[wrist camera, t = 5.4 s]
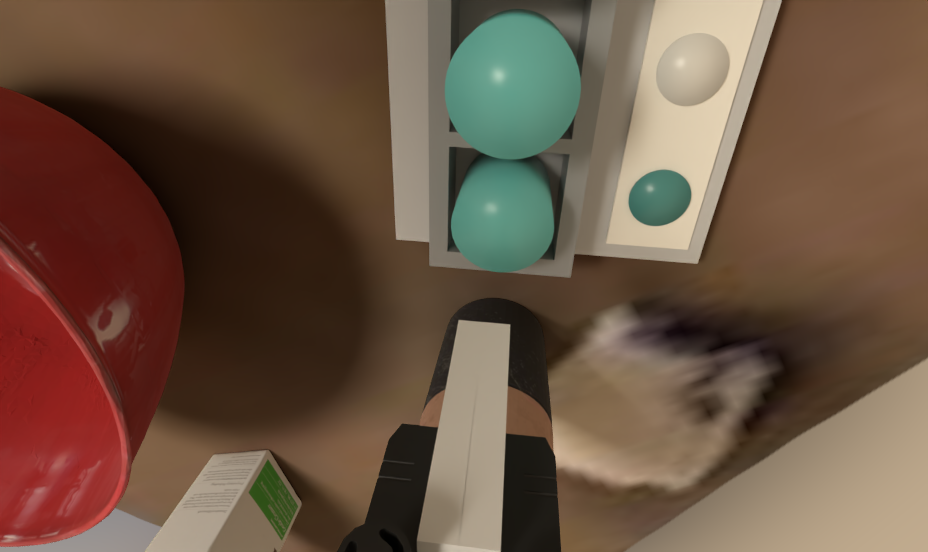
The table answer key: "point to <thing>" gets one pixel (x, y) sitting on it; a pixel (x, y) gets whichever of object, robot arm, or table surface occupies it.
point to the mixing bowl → (76, 321)
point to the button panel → (588, 122)
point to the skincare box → (232, 508)
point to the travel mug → (524, 371)
